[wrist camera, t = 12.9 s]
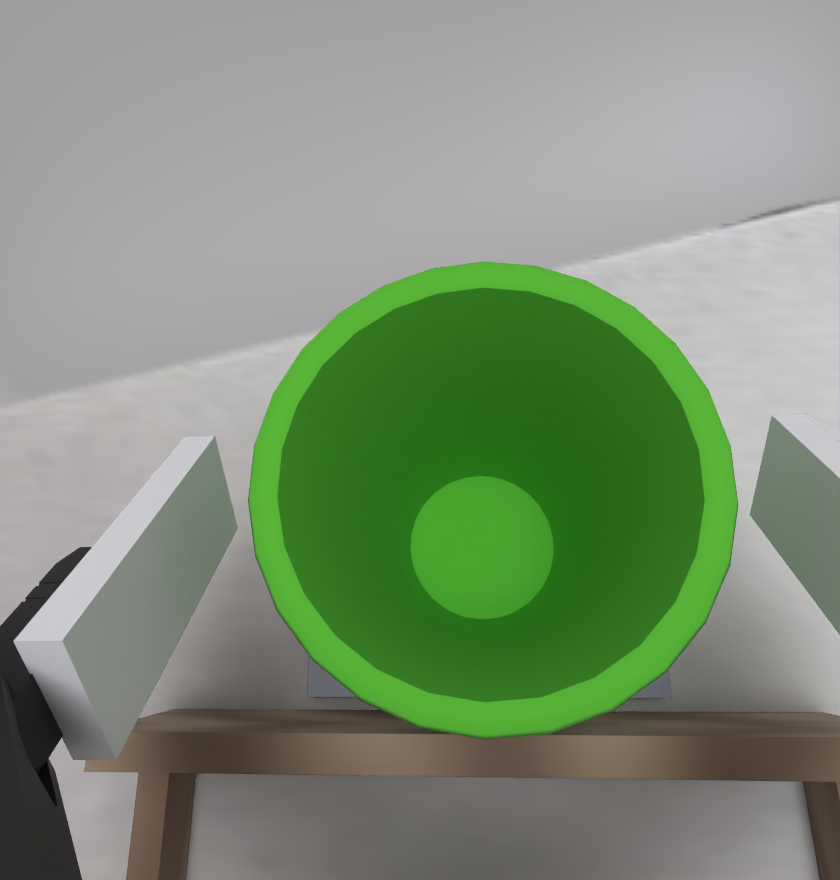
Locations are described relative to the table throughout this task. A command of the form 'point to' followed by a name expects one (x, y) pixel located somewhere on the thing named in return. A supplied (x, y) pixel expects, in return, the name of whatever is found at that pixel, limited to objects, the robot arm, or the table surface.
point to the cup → (493, 500)
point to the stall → (465, 760)
